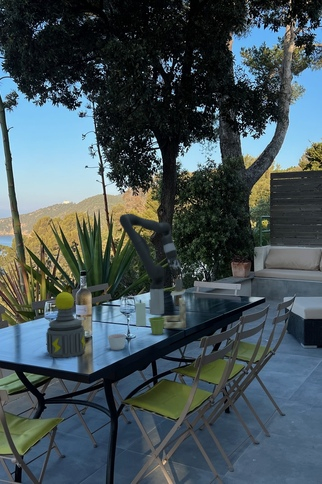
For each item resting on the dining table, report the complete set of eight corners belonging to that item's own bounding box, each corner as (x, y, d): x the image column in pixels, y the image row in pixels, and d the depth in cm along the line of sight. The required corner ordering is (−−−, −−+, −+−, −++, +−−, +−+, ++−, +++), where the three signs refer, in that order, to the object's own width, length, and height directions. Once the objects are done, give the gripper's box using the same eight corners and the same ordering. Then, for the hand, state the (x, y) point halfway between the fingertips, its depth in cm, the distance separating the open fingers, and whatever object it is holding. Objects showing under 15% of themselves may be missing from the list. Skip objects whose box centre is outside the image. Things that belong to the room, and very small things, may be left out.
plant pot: (153, 336, 271) (153, 320, 270) (146, 333, 279) (145, 318, 279) (168, 334, 275) (168, 318, 275) (160, 331, 283) (160, 316, 283)
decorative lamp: (58, 347, 252) (56, 289, 251) (92, 349, 247) (90, 289, 246) (39, 357, 234) (36, 294, 233) (75, 359, 229) (72, 295, 228)
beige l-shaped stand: (164, 328, 290) (163, 304, 290) (162, 320, 313) (161, 298, 313) (186, 327, 291) (185, 303, 290) (183, 320, 314) (182, 298, 313)
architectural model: (192, 309, 353) (191, 282, 352) (157, 309, 358) (156, 282, 357) (198, 301, 391) (197, 276, 390) (166, 301, 395) (165, 276, 395)
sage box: (136, 326, 299) (135, 300, 298) (136, 324, 304) (135, 299, 303) (146, 326, 299) (145, 300, 299) (146, 324, 304) (145, 299, 304)
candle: (126, 345, 252) (126, 333, 251) (125, 350, 243) (125, 337, 242) (108, 346, 251) (108, 334, 251) (107, 351, 242) (107, 338, 242)
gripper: (170, 252, 335) (177, 275, 332) (160, 253, 322) (168, 276, 320) (179, 249, 332) (187, 272, 329) (170, 249, 319) (178, 273, 316)
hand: (177, 274), depth 324 cm, fingers open, 8 cm apart
